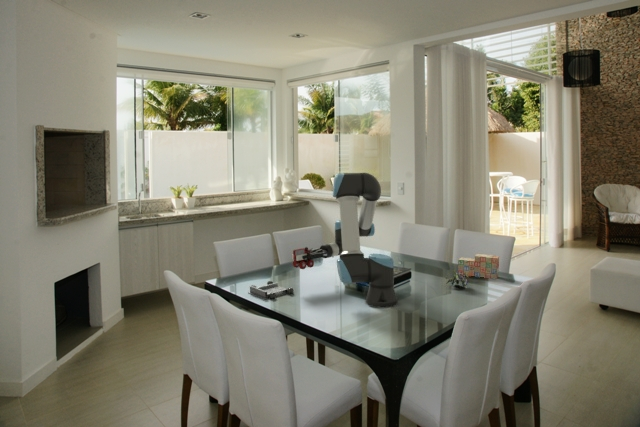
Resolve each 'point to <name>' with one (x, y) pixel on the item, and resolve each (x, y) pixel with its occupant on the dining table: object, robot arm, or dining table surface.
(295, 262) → the red plastic toy vehicle
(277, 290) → the chassis bay
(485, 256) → the stack of blocks
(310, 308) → the dining table surface
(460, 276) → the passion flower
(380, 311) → the dining table surface
